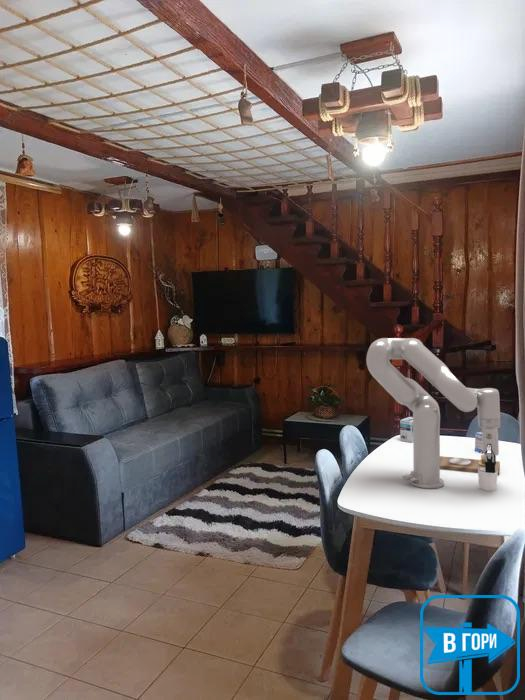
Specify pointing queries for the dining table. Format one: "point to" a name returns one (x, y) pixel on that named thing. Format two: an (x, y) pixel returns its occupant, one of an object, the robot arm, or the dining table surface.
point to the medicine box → (478, 442)
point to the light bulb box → (406, 429)
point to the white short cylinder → (487, 479)
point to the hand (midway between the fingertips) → (490, 468)
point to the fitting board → (464, 464)
